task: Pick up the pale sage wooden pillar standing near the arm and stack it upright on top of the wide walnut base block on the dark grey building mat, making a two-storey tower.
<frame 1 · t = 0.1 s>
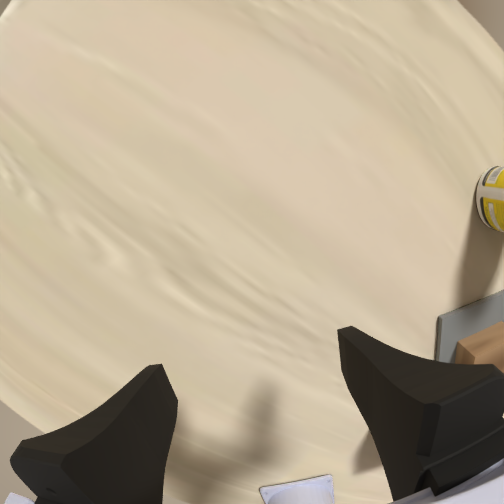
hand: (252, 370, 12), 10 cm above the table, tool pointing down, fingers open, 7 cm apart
building mat: (473, 353, 24), on the table
supplement bottle: (493, 196, 21), on the table
walnut block: (477, 356, 24), resting on building mat
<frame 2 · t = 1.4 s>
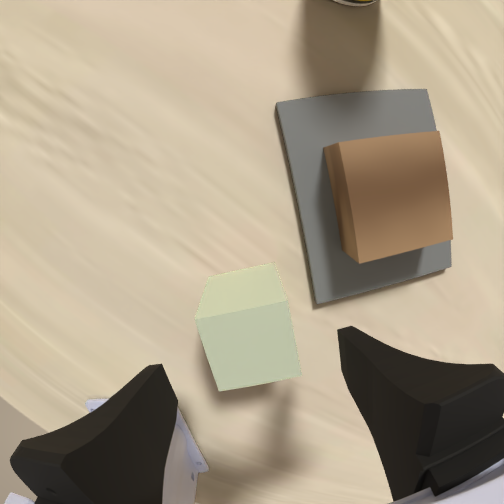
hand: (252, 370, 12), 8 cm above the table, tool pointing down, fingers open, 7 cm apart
building mat: (376, 189, 18), on the table
sage pillar: (248, 299, 19), on the table
walnut block: (380, 190, 17), resting on building mat
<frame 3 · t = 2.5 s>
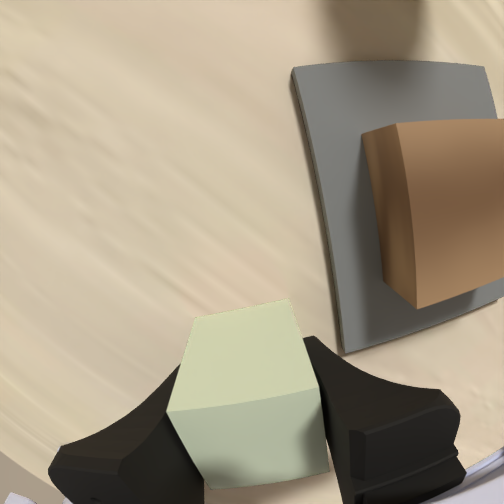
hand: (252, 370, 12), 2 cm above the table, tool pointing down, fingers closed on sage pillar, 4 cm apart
building mat: (428, 196, 12), on the table
sage pillar: (251, 348, 14), on the table, touching gripper
walnut block: (435, 197, 12), resting on building mat
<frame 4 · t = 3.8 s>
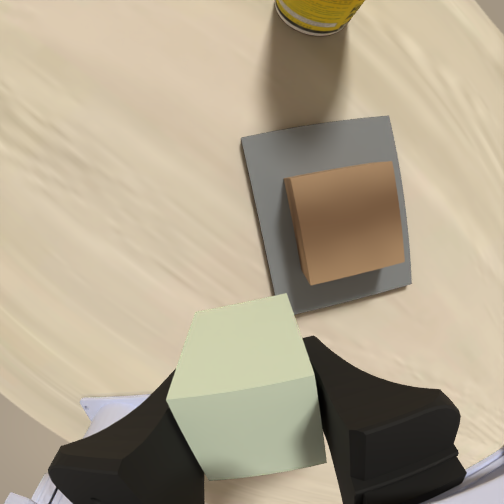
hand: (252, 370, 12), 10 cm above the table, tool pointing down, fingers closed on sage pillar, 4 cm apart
building mat: (335, 214, 20), on the table
sage pillar: (250, 342, 14), point 8 cm above the table, touching gripper
supplement bottle: (311, 9, 17), on the table
walnut block: (338, 215, 20), resting on building mat
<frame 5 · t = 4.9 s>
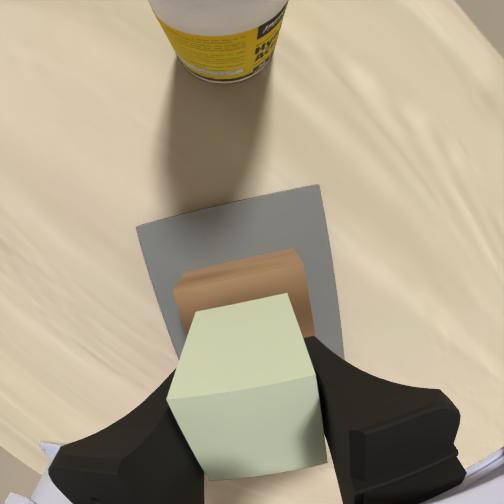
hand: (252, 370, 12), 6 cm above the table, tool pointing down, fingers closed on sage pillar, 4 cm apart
building mat: (250, 306, 18), on the table
sage pillar: (251, 342, 14), point 4 cm above the table, touching gripper
supplement bottle: (226, 44, 15), on the table
walnut block: (250, 310, 18), resting on building mat
when the fingers open (6 cm above the table, at t = 5.3 s): sage pillar stays where it is, resting on walnut block.
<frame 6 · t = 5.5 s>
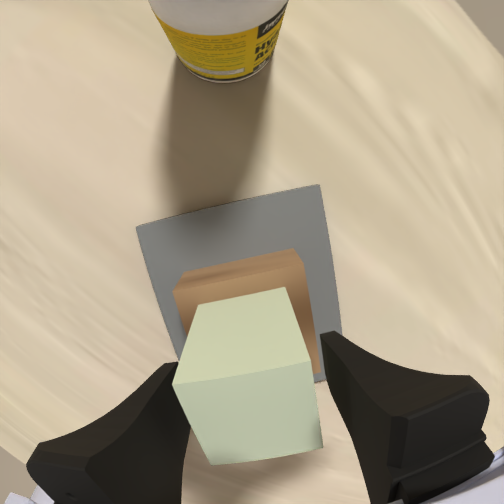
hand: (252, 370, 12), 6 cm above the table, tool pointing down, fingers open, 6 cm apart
building mat: (250, 306, 18), on the table
sage pillar: (250, 334, 15), point 4 cm above the table, touching walnut block
supplement bottle: (226, 43, 15), on the table
walnut block: (250, 310, 18), resting on building mat
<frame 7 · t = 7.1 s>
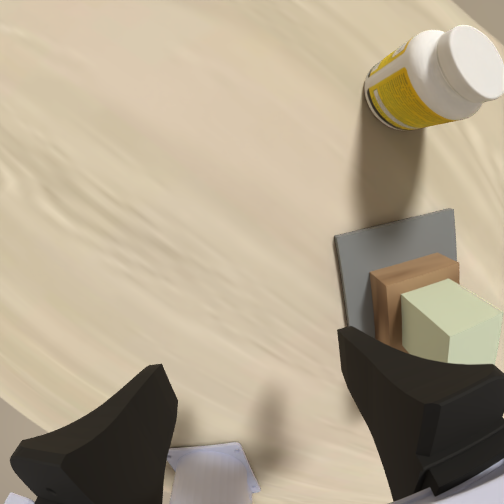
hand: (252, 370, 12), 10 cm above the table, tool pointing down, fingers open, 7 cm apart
building mat: (404, 295, 23), on the table
sage pillar: (426, 312, 19), point 4 cm above the table, touching walnut block
supplement bottle: (395, 96, 19), on the table
walnut block: (407, 298, 22), resting on building mat
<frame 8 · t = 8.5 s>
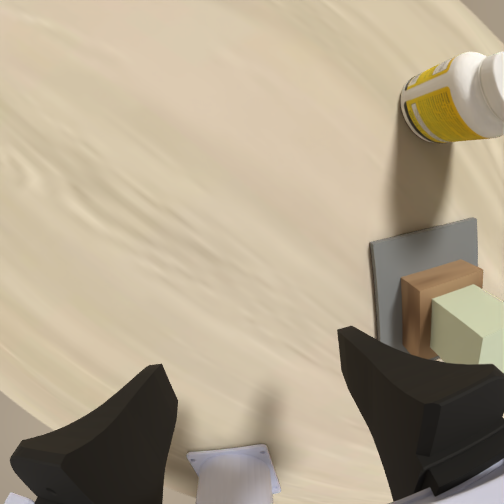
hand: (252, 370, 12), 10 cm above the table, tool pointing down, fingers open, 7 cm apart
building mat: (429, 299, 23), on the table
sage pillar: (452, 315, 19), point 4 cm above the table, touching walnut block
supplement bottle: (427, 109, 19), on the table
walnut block: (433, 302, 22), resting on building mat
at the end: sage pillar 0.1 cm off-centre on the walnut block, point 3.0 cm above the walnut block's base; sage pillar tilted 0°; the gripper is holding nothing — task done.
